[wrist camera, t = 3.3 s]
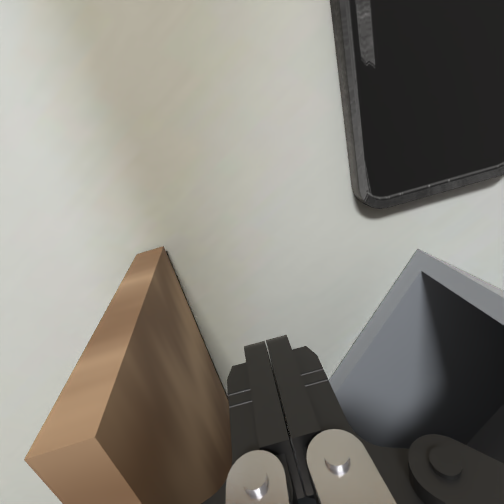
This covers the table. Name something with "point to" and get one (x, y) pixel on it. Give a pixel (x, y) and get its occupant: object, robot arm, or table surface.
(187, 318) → the door
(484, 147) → the phone
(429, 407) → the storage box
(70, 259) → the table surface
